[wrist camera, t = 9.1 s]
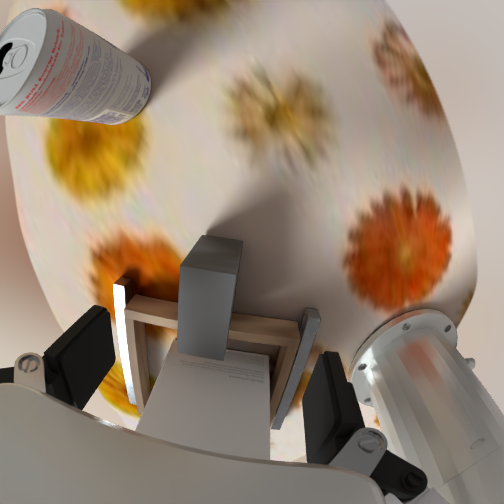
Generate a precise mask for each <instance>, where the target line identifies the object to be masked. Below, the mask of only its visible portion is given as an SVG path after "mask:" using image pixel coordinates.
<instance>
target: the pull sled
mask: <svg viewBox="0 0 504 504" xmlns="http://www.w3.org/2000/svg"><path fill="white" fill-rule="evenodd" d="M242 245H243V241H238V240H231V239H225V238H218V237H212V236H205V235H202V236H201V237H200V239H199V240H198V241H197V243H196V244H195V246H194V247H193V248H192V250H191V251H190V253H189V254H188V255H187V257H186V258H185V260H184V261H183V262H182V264H181V265H180V277H179V297H178V303H176V302H170V301H165V300H160V299H156V298H151V297H146V296H141V295H137V294H135V296H134V297H133V298H132V299H131V300H130V302H129V303H128V304H127V305H126V307H125V308H124V320H125V330H126V339H127V348H128V356H129V363H130V370H131V376H132V382H133V388H134V394H135V399H136V404H137V409H138V414H141V415H142V413H143V411H144V408H145V406H146V403H147V401H148V399H149V396H150V394H151V389H150V381H149V371H148V360H147V348H146V332H145V323H150V324H154V325H159V326H163V327H168V328H173V329H177V353H182V354H187V355H192V356H197V357H202V358H208V359H214V360H220V361H224V358H225V352H226V346H227V341H228V339H233V340H240V341H247V342H254V343H261V344H269V345H278V346H281V347H280V350H279V354H278V357H277V361H276V364H275V368H274V371H273V375H272V378H271V382H270V426H271V424H272V421H273V419H274V416H275V413H276V411H277V408H278V405H279V402H280V400H281V397H282V394H283V391H284V388H285V385H286V383H287V380H288V377H289V374H290V371H291V368H292V365H293V362H294V359H295V356H296V352H297V349H298V346H299V343H300V340H301V339H300V334H299V329H298V324H297V321H289V320H281V319H273V318H266V317H259V316H252V315H245V314H239V313H232V312H233V305H234V298H235V292H236V285H237V278H238V272H239V265H240V258H241V252H242Z"/></svg>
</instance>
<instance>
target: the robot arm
mask: <svg viewBox="0 0 504 504" xmlns="http://www.w3.org/2000/svg"><path fill="white" fill-rule="evenodd" d="M457 338H458V337H457V330H456V328H455V325H454V323H453V322H452V321H451V320H450V319H449V318H448V317H447V316H446V315H445V314H444V313H442V312H440V311H437V310H434V309H421V310H415V311H412V312H408V313H405V314H403V315H401V316H399V317H397V318H395V319H393V320H391V321H390V322H388V323H387V324H385V325H384V326H382V327H381V328H380V329H378V330H377V331H376V332H375V333H374V334H372V335H371V336H370V338H369V339H368V340H367V341H366V342H365V343H364V344H363V345H362V347H361V348H360V349H359V351H358V352H357V354H356V355H355V357H354V359H353V361H352V363H351V367H350V370H349V382H347V379H346V376H345V372H344V369H343V366H342V362H341V359H340V356H339V353H338V352H330V351H325V352H324V354H320V355H319V357H318V360H317V362H316V365H315V368H314V370H313V373H312V375H311V378H310V381H309V383H308V386H307V388H306V390H305V393H304V395H303V400H302V406H303V417H304V429H305V442H306V456H307V463H299V462H285V461H274V460H264V459H256V458H248V457H240V456H234V455H227V454H222V453H216V452H211V451H206V450H201V449H197V448H192V447H188V446H184V445H180V444H176V443H172V442H168V441H165V440H161V439H158V438H154V437H151V436H148V435H145V434H142V433H139V432H136V431H133V430H130V429H127V428H124V427H121V426H119V425H116V424H113V423H111V422H108V421H106V420H103V419H101V418H98V417H96V416H94V415H91V414H89V413H87V412H84V411H82V410H83V408H84V407H85V405H86V404H87V402H88V401H89V399H90V398H91V396H92V395H93V393H94V392H95V390H96V389H97V388H98V386H99V385H100V383H101V382H102V380H103V379H104V377H105V376H106V375H107V373H108V372H109V370H110V369H111V367H112V366H113V365H114V363H115V358H116V357H115V350H114V343H113V336H112V328H111V319H110V313H109V312H107V309H106V308H104V307H101V306H98V305H94V306H92V307H91V308H90V309H89V310H88V311H87V312H86V313H85V314H84V315H83V316H81V317H80V318H79V319H78V320H77V321H76V322H75V323H74V324H73V325H72V326H71V327H70V328H69V329H68V330H67V331H66V332H64V333H63V334H62V335H61V336H60V337H59V338H58V339H57V340H56V341H55V342H54V343H53V344H52V345H51V346H50V347H49V348H48V349H47V350H46V351H45V352H44V356H43V357H41V356H40V355H38V354H36V353H25V354H23V355H21V356H19V357H18V358H17V360H16V361H15V366H14V367H9V368H2V369H0V504H504V415H503V413H502V412H501V410H500V409H499V407H498V406H497V405H496V403H495V402H494V400H493V399H492V397H491V396H490V394H489V393H488V392H487V390H486V389H485V388H484V386H483V385H482V383H481V382H480V381H479V379H478V378H477V377H476V375H475V374H474V373H473V371H472V369H473V368H474V367H475V360H474V359H473V358H467V359H464V358H463V357H462V355H461V354H460V353H459V352H458V351H457V349H456V346H457ZM358 401H359V402H360V403H362V404H364V405H367V406H371V407H374V409H375V411H376V414H377V417H378V420H379V422H380V425H381V428H382V431H383V433H384V434H383V433H382V432H380V431H379V430H377V429H374V428H365V425H364V421H363V417H362V414H361V410H360V407H359V404H358ZM387 446H388V448H389V451H388V450H387Z"/></svg>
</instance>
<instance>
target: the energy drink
mask: <svg viewBox="0 0 504 504" xmlns="http://www.w3.org/2000/svg"><path fill="white" fill-rule="evenodd" d="M150 90H151V78H150V75H149V72H148V70H147V69H146V68H145V67H144V66H143V65H142V64H141V63H139V62H138V61H137V60H135V59H134V58H132V57H131V56H129V55H128V54H126V53H125V52H123V51H122V50H120V49H119V48H117V47H116V46H114V45H113V44H111V43H109V42H108V41H106V40H105V39H103V38H102V37H100V36H98V35H97V34H95V33H93V32H92V31H90V30H88V29H87V28H85V27H83V26H82V25H80V24H78V23H76V22H75V21H73V20H71V19H69V18H68V17H66V16H64V15H62V14H60V13H59V12H57V11H54V10H51V9H45V10H41V9H38V8H32V9H29V10H27V11H25V12H23V13H21V14H20V15H18V16H17V17H16V18H14V19H13V20H12V21H11V22H10V23H9V24H8V25H7V26H6V27H5V29H4V30H3V31H2V32H1V34H0V114H1V115H12V116H35V117H49V118H61V119H71V120H80V121H88V122H96V123H103V124H110V125H117V124H121V123H125V122H127V121H129V120H131V119H132V118H133V117H135V116H136V115H137V114H138V113H139V112H140V111H141V109H142V108H143V107H144V105H145V104H146V102H147V100H148V97H149V94H150Z"/></svg>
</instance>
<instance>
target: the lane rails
mask: <svg viewBox="0 0 504 504" xmlns="http://www.w3.org/2000/svg"><path fill="white" fill-rule="evenodd" d="M113 287H114V301H115V312H116V322H117V331H118V339H119V346H120V353H121V359H122V365H123V371H124V377H125V382H126V387H127V392H128V397H129V402H130V403H132V404H135V405H137V404H136V399H135V394H134V388H133V382H132V376H131V370H130V363H129V356H128V348H127V339H126V330H125V320H124V308H125V307H126V305H127V304H128V303H129V302H130V300H131V299H132V286H131V279H130V278H125V277H120V278H119V279H118V280H117V281H116V282H115V283H114V284H113ZM320 320H321V318H320V315H319V312H318V309H312V308H306V310H305V313H304V317H303V320H302V324H301V327H300V330H299V334H300V339H301V340H300V343H299V346H298V349H297V352H296V356H295V359H294V362H293V365H292V368H291V371H290V374H289V377H288V380H287V383H286V385H285V388H284V391H283V394H282V397H281V400H280V402H279V405H278V408H277V411H276V413H275V416H274V419H273V421H272V424H271V429H277V430H280V428H281V425H282V423H283V421H284V418H285V416H286V414H287V411H288V409H289V406H290V404H291V401H292V399H293V396H294V394H295V391H296V389H297V386H298V383H299V381H300V378H301V375H302V373H303V370H304V367H305V364H306V362H307V359H308V356H309V353H310V350H311V347H312V345H313V342H314V339H315V336H316V333H317V330H318V327H319V323H320Z"/></svg>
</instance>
